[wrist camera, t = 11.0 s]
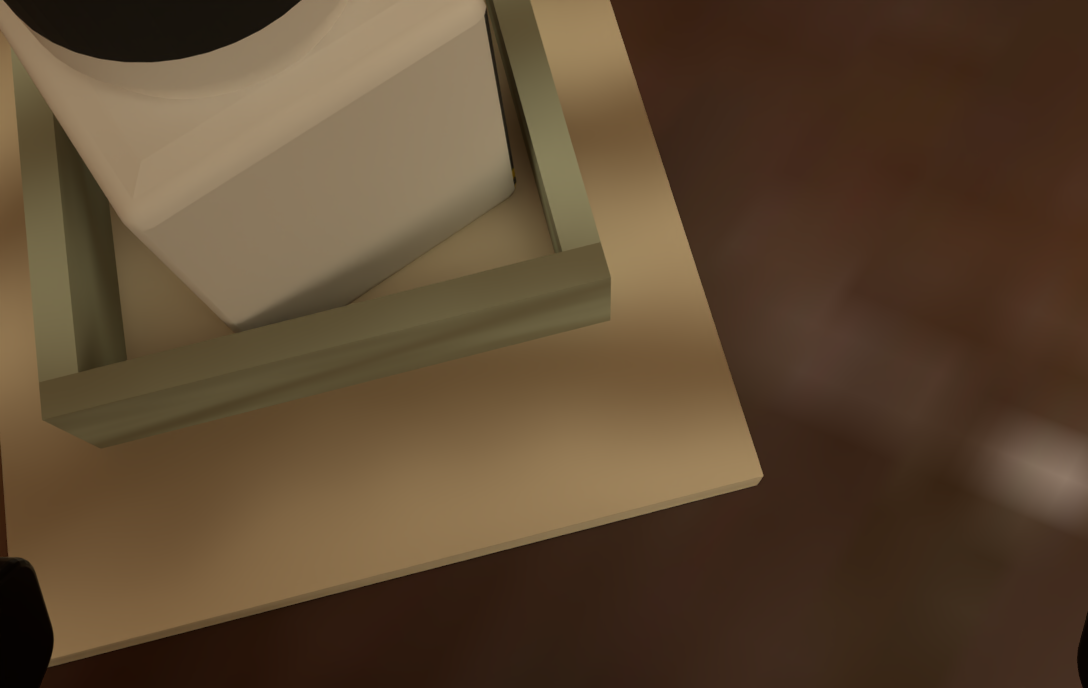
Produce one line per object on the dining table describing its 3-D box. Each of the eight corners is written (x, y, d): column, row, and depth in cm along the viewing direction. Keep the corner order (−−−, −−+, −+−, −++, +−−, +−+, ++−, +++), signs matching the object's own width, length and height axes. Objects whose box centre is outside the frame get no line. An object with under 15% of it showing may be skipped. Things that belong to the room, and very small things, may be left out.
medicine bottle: (523, 193, 24) (451, -254, 13) (264, 366, 23) (-67, 46, 12) (363, -8, 26) (179, -545, 15) (118, 143, 25) (-282, -312, 14)
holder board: (757, 485, 23) (783, 448, 19) (41, 669, 22) (-58, 664, 19) (540, -192, 29) (532, -306, 26) (-16, -60, 29) (-97, -158, 25)
